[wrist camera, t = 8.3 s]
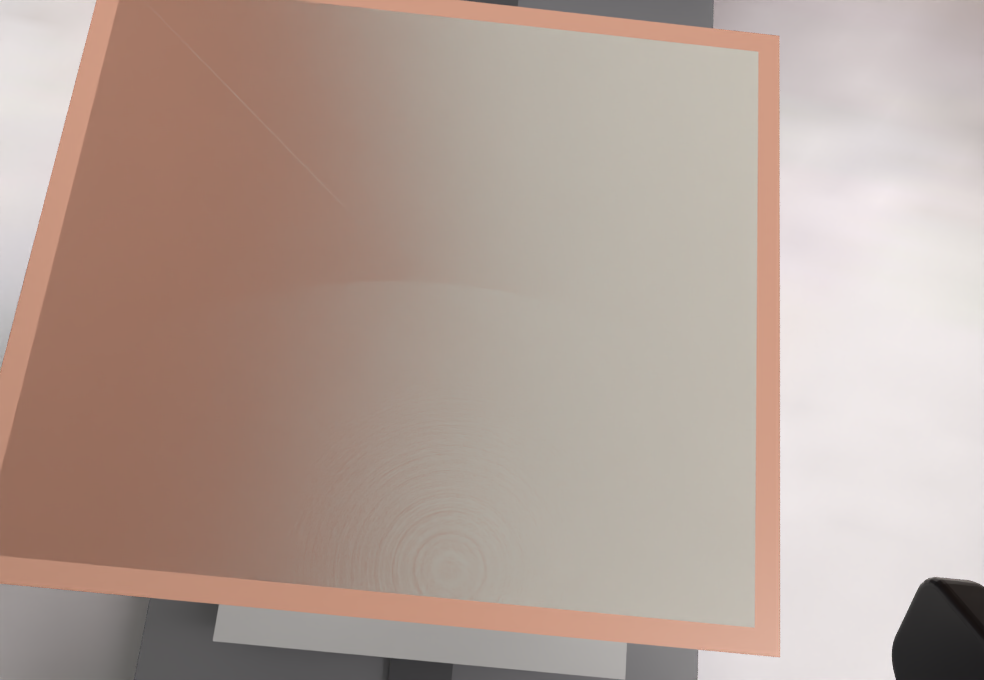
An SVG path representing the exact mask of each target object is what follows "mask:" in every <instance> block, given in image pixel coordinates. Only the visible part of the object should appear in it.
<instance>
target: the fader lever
mask: <svg viewBox="0 0 984 680" xmlns="http://www.w3.org/2000/svg"><path fill="white" fill-rule="evenodd" d="M0 584H10V585H20V586H31V587H41V588H52V589H63V590H73V591H84V592H94V593H105V594H116V595H126V596H137V597H147V598H158V599H168V600H179V601H190V602H200V603H211V604H219V607H218V613H217V619H216V625H215V630H214V636H213V641H216V642H227V643H238V644H249V645H259V646H270V647H281V648H291V649H302V650H313V651H323V652H334V653H345V654H356V655H366V656H377V657H388V658H398V659H409V660H420V661H430V662H441V663H452V664H462V665H473V666H484V667H495V668H505V669H516V670H527V671H537V672H548V673H559V674H569V675H580V676H591V677H602V678H612V679H623V680H625V674H626V652H627V643H634V644H645V645H655V646H666V647H676V648H687V649H698V650H708V651H719V652H729V653H740V654H751V655H761V656H772V657H780V239H779V36H776V35H767V34H758V33H749V32H740V31H731V30H722V29H713V28H704V27H695V26H686V25H678V24H669V23H660V22H651V21H642V20H633V19H624V18H615V17H606V16H597V15H588V14H579V13H570V12H561V11H552V10H543V9H534V8H525V7H516V6H507V5H498V4H489V3H480V2H471V1H462V0H97V1H96V5H95V8H94V12H93V16H92V20H91V24H90V28H89V32H88V35H87V39H86V43H85V47H84V51H83V55H82V59H81V62H80V66H79V70H78V74H77V78H76V82H75V86H74V89H73V93H72V97H71V101H70V105H69V109H68V112H67V116H66V120H65V124H64V128H63V132H62V136H61V139H60V143H59V147H58V151H57V155H56V159H55V163H54V166H53V170H52V174H51V178H50V182H49V186H48V190H47V193H46V197H45V201H44V205H43V209H42V213H41V216H40V220H39V224H38V228H37V232H36V236H35V240H34V243H33V247H32V251H31V255H30V259H29V263H28V267H27V270H26V274H25V278H24V282H23V286H22V290H21V294H20V297H19V301H18V305H17V309H16V313H15V317H14V321H13V324H12V328H11V332H10V336H9V340H8V344H7V347H6V351H5V355H4V359H3V363H2V367H1V371H0Z"/></svg>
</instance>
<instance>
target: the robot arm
mask: <svg viewBox="0 0 984 680" xmlns="http://www.w3.org/2000/svg"><path fill="white" fill-rule="evenodd" d="M892 664H893V670H894V674H895V678H896V680H984V587H983V586H982V585H980V584H978V583H976V582H973V581H969V580H960V579H950V578H940V577H933V578H928V579H927V580H925V581H924V582H923V583H922V584H921V585H920V586H919V588H918V590H917V592H916V594H915V596H914V598H913V600H912V603H911V605H910V607H909V609H908V611H907V613H906V615H905V617H904V619H903V622H902V624H901V626H900V628H899V630H898V632H897V634H896V636H895V639H894V642H893V647H892Z"/></svg>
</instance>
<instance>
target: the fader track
mask: <svg viewBox="0 0 984 680" xmlns="http://www.w3.org/2000/svg"><path fill="white" fill-rule="evenodd" d="M462 1H471V2H480V3H489V4H498V5H507V6H516V7H525V8H534V9H543V10H552V11H561V12H570V13H579V14H588V15H597V16H606V17H615V18H624V19H633V20H642V21H651V22H660V23H669V24H678V25H686V26H695V27H704V28H713V4H714V0H462ZM218 607H219V604H211V603H200V602H190V601H179V600H168V599H158V598H150V601H149V606H148V611H147V617H146V622H145V627H144V632H143V637H142V642H141V647H140V653H139V658H138V663H137V668H136V673H135V678H134V680H623V679H612V678H602V677H591V676H580V675H569V674H559V673H548V672H537V671H527V670H516V669H505V668H495V667H484V666H473V665H462V664H452V663H441V662H430V661H420V660H409V659H398V658H388V657H377V656H366V655H356V654H345V653H334V652H323V651H313V650H302V649H291V648H281V647H270V646H259V645H249V644H238V643H227V642H216V641H213V636H214V630H215V625H216V619H217V613H218ZM697 675H698V649H687V648H676V647H666V646H655V645H645V644H634V643H627V652H626V674H625V680H697Z"/></svg>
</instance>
